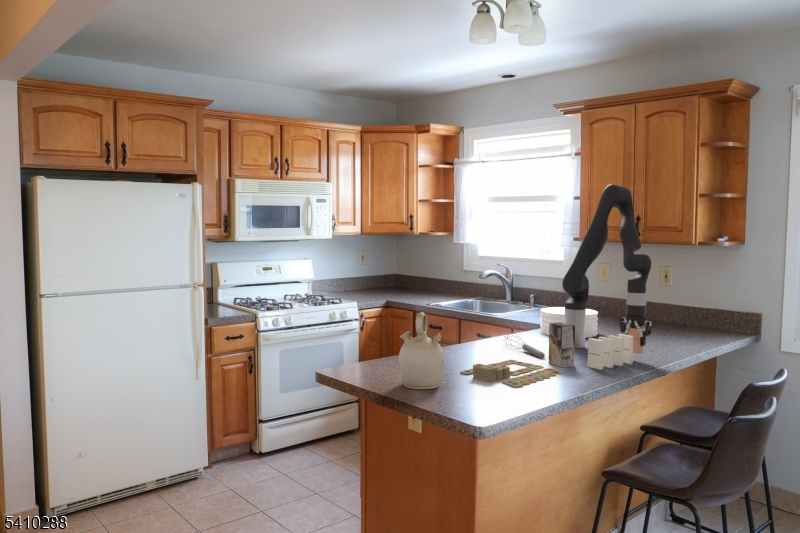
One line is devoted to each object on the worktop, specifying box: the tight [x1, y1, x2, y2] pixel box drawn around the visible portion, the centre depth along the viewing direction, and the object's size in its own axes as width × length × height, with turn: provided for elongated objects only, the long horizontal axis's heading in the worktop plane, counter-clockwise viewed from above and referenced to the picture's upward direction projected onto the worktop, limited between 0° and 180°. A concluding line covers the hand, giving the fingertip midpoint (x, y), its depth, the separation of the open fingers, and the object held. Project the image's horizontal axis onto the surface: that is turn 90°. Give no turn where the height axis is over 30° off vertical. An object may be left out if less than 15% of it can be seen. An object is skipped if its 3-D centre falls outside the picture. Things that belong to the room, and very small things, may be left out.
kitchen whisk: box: [503, 332, 546, 359], centre depth 275 cm, size 6×34×6 cm, turn 18°
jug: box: [398, 311, 445, 391], centre depth 216 cm, size 15×16×25 cm
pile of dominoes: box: [459, 359, 563, 389], centre depth 235 cm, size 35×27×6 cm
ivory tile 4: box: [587, 337, 604, 371], centre depth 245 cm, size 2×6×11 cm, turn 34°
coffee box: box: [548, 322, 576, 368], centre depth 250 cm, size 9×6×16 cm
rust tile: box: [628, 325, 645, 355], centre depth 258 cm, size 2×6×11 cm, turn 35°
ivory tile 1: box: [617, 333, 634, 365], centre depth 255 cm, size 2×6×11 cm, turn 35°
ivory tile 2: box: [607, 334, 624, 367], centre depth 252 cm, size 2×6×11 cm, turn 35°
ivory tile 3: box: [598, 336, 614, 369], centre depth 248 cm, size 2×6×11 cm, turn 34°
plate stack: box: [539, 306, 599, 339], centre depth 322 cm, size 28×28×12 cm
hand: (635, 344), depth 258 cm, fingers closed on rust tile, 6 cm apart
